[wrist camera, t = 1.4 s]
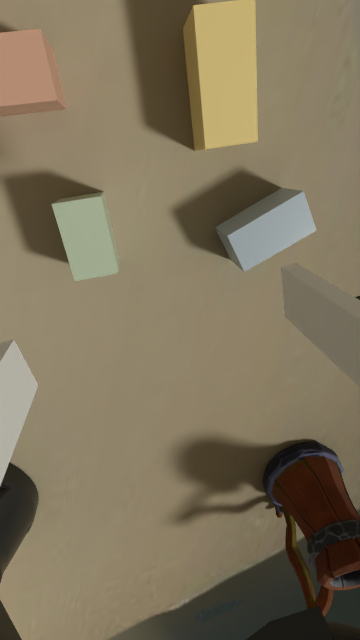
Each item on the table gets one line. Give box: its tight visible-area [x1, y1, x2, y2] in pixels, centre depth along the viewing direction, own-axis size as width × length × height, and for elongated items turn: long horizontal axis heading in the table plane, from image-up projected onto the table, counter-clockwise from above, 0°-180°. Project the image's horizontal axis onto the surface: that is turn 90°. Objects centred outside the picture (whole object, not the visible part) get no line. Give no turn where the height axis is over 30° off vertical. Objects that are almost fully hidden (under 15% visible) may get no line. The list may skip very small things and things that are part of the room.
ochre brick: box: [183, 0, 258, 151], centre depth 24 cm, size 8×4×4 cm, turn 7°
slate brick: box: [215, 188, 316, 272], centre depth 29 cm, size 7×4×4 cm, turn 119°
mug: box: [263, 442, 360, 616], centre depth 42 cm, size 18×12×15 cm, turn 162°
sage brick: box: [52, 192, 119, 281], centre depth 27 cm, size 6×4×4 cm, turn 8°
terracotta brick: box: [0, 29, 67, 117], centre depth 22 cm, size 7×4×4 cm, turn 97°
